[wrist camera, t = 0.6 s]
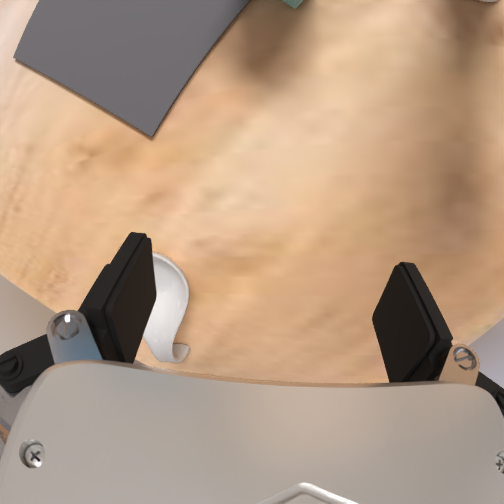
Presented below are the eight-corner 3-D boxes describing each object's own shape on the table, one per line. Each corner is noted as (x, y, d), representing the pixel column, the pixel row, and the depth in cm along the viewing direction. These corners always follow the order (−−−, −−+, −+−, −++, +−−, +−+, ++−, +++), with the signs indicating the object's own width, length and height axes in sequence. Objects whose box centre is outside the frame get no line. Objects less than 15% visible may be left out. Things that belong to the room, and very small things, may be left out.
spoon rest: (113, 241, 44) (93, 270, 38) (186, 238, 43) (174, 269, 38) (152, 344, 57) (142, 373, 51) (210, 346, 57) (205, 378, 51)
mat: (94, -77, 17) (92, -79, 16) (261, -13, 25) (261, -14, 24) (15, 57, 27) (13, 57, 26) (153, 135, 35) (151, 136, 34)
